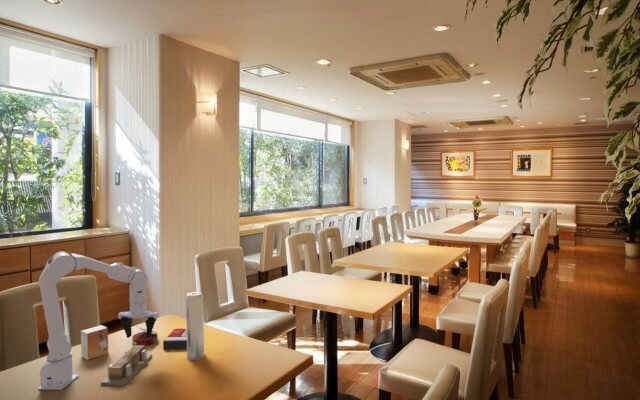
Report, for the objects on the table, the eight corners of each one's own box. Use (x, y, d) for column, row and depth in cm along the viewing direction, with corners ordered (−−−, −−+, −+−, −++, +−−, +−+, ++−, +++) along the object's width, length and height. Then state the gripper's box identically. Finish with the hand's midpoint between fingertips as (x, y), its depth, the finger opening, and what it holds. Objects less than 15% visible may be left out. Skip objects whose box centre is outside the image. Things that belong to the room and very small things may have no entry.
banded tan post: (121, 379, 140) (121, 367, 140) (109, 379, 140) (109, 367, 140) (145, 355, 158) (144, 345, 158) (134, 355, 158) (134, 345, 158)
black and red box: (199, 327, 182) (190, 338, 167) (199, 336, 182) (190, 349, 167) (173, 327, 181) (162, 339, 166) (173, 337, 181) (162, 350, 166)
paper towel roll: (199, 361, 156) (197, 296, 154) (183, 359, 157) (182, 295, 156) (207, 354, 162) (206, 291, 161) (192, 352, 164) (190, 290, 162)
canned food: (136, 350, 177) (137, 326, 181) (160, 347, 178) (161, 323, 182) (126, 348, 166) (127, 323, 170) (152, 344, 167) (152, 319, 171)
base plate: (124, 385, 138) (123, 372, 138) (100, 385, 138) (100, 372, 138) (152, 356, 160) (151, 345, 160) (131, 356, 160) (131, 345, 160)
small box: (87, 360, 157) (86, 333, 156) (81, 356, 160) (80, 330, 159) (108, 353, 163) (108, 327, 162) (102, 349, 166) (101, 324, 166)
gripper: (161, 298, 159) (162, 332, 159) (124, 298, 159) (125, 332, 160) (153, 304, 152) (154, 340, 152) (114, 303, 152) (116, 339, 153)
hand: (139, 336), depth 156 cm, fingers open, 7 cm apart
